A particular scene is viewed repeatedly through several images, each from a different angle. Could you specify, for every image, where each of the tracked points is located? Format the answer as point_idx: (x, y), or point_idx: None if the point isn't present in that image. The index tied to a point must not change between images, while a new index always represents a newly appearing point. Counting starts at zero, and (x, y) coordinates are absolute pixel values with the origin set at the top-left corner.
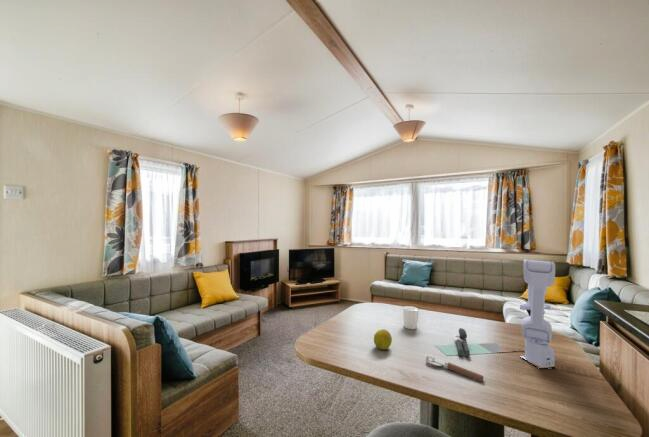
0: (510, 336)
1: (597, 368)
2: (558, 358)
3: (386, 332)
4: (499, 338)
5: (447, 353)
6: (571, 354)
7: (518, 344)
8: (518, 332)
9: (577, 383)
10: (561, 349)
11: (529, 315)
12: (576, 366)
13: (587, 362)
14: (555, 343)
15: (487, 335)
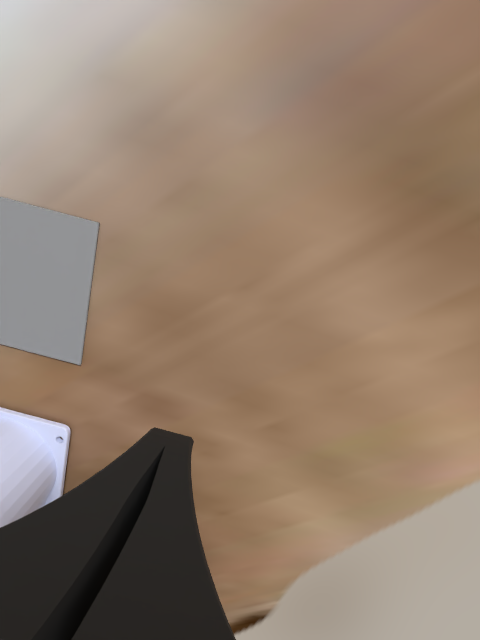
0: (236, 132)
1: (274, 604)
2: (195, 486)
3: None
4: (87, 128)
5: None
6: (342, 493)
7: (140, 273)
8: (431, 85)
9: None
10: (370, 437)
11: (48, 513)
12: None
13: (306, 565)
14: (460, 371)
15: (28, 28)
